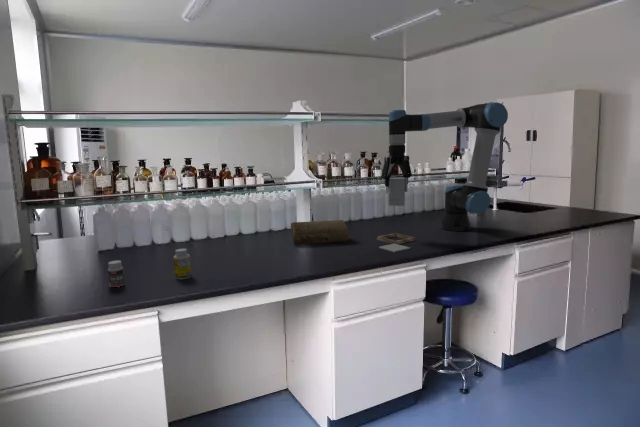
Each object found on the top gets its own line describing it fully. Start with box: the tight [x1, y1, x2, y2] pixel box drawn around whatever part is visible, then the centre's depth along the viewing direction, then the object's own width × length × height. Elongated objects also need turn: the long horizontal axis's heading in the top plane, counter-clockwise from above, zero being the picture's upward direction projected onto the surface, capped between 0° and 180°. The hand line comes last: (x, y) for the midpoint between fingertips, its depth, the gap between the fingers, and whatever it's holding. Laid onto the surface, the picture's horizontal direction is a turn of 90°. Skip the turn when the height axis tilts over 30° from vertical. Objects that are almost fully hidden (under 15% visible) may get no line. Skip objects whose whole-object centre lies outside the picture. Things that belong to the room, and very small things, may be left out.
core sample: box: [290, 219, 350, 246], centre depth 202 cm, size 14×26×10 cm, turn 103°
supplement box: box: [388, 177, 406, 207], centre depth 199 cm, size 7×7×13 cm
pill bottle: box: [107, 259, 125, 288], centre depth 144 cm, size 5×5×8 cm
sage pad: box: [378, 243, 411, 253], centre depth 188 cm, size 10×10×1 cm
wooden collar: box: [376, 232, 416, 245], centre depth 203 cm, size 13×13×2 cm
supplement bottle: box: [173, 248, 192, 280], centre depth 152 cm, size 6×6×10 cm
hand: (396, 192), depth 199 cm, fingers closed on supplement box, 10 cm apart
